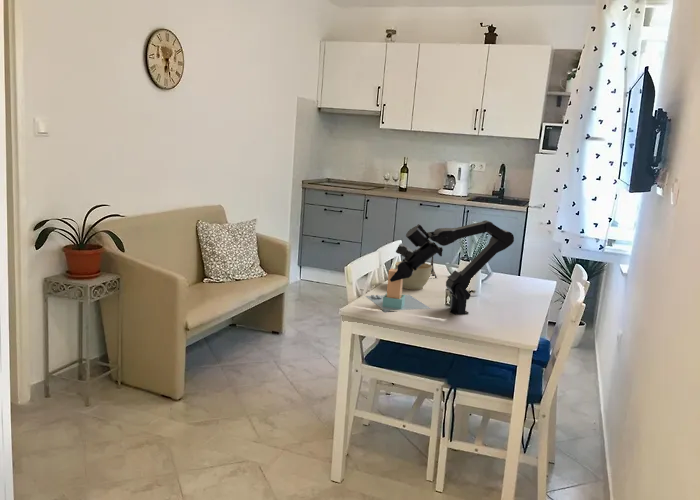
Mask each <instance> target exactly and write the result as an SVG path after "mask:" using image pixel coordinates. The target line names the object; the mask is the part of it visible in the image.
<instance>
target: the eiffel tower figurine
mask: <svg viewBox="0 0 700 500" xmlns="http://www.w3.org/2000/svg"><path fill="white" fill-rule="evenodd" d="M430 261H431V262H430V265H431V266H432V269H431V274H430V276H435V278H434V279H438V276H437V275H436V272H435V270H434V256H432V257H431V260H430Z"/></svg>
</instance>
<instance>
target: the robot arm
mask: <svg viewBox="0 0 700 500" xmlns="http://www.w3.org/2000/svg"><path fill="white" fill-rule="evenodd" d="M484 233H487V234H488V235H490V236H491V237H490V239H489V241H488V244H487V245H486V246H485V247H484V248H483V249H482V251H480V252H479V253H478V254H476V256H475V257H474V258H473V259H472V260H471V261H470V262H469V263H468V264H467V265H466V266H465V267H463V269H461V270H460V271H457V270H454V271H453V272H452V273H451V274H450V275H449V276H447V279H446V281H445V286H446V287H445V288H447V290H448V291H449V294H450V295H451V296H450V297H451V298H450V304H449V305H450V306H449V308H450V313H452V314H454V315H467V314H469V311H467V310H466V308H467V301H468V300H470V298H471V292H470V291H469V290H468V289H466V288H467V287H468V285H469V283H470V280H471V278H474V277H475V276H476V275H477V274H478V273H479V271H481V270H482V268H483V267H485V266H486V265H487V263H489V262H490V260H492V258H494V257H495V256H496V255H497V254H498V253H501V252H502V251H504V250H506V249H508V248H509V247H510V246H512V245H513V244H514V241H515V236H514V234H513V233H512V232H510V231H508V230H506V229H504V228H503V229H502V228H500V227H498V226H497V225H495V224H494V223H493V222H492V221H489V220H482V221H480V222H476V223H475V222H474V223H471V224H470V223H469V224H467V225H462V226H458V227H440V228H436V229H435V230H434V231H428V232H427V231H426V230H425V229H424V228H423V226H422V225H421V224H420V223H419V224H417V225H415V226H413V227H412V228H410V229H409V230H408V231H407V232H406V234H405V237H406V238H407V239H408V240H409V241H410V242H411V243H412V245H414V247H418V248H417V249H411V248H410V247H408V246H407V245H406V244H403V243H399V245H398V247H396V250H395V253H397V254H399V255H400V256H402V257H404V258H403V259H402V262H401V263H400V264H398V270H397V272H396V273H395V274H394V275H393V276H392V277H391V279H390V281H391V282H393V281H396V280H400V279H404V278H409V277H410V276H412V274H413V271H415V270H417V268H418V267H420V266H421V265H422V264H424V263H426V262H428V260H430V259H432V256H433V257H434V256H435V255H436V254H437V255H438V256H439V257H442V256H443V251H444V249H443V247H445V246H448V245H450V244H452V243H455V242H456V241H457V240H460V239H463V238H467V237H472V236H476V235H480V234H484ZM436 243H437V244H436ZM438 245H440V246H441V247H440V246H438ZM442 246H443V247H442ZM413 269H414V270H413ZM474 275H475V276H474Z"/></svg>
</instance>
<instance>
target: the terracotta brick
mask: <svg viewBox="0 0 700 500" xmlns="http://www.w3.org/2000/svg"><path fill="white" fill-rule="evenodd" d="M397 270H398V269H396V268H393V267H392V268H389V270H388V275H387V276H388V277H387V286H386V287H387V288H386V289H387V290H386V293H387V297H388V298H396V299H400V298H401V297H402V295H403V287H402V285H403V279H400V280H396V281H393V282H391V281H390V279H391V277H392V276H393V275H394V274H395V273H396V272H397Z"/></svg>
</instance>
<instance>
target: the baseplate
mask: <svg viewBox="0 0 700 500" xmlns="http://www.w3.org/2000/svg"><path fill="white" fill-rule="evenodd" d="M365 297H366V299H368V300H369V301H371V302H372V303H374V304H375V305H376V306H378V307H379V308H381V309H380V311H382V312H383V313H397V312H398V311H403V310H404V311H405V310H408V311H409V310H428V309H429V310H431V309H432V308H431V307H430V306H428V305H426V304H425V303H424V302H422V301H420V300H419V299H417V298H415V297H413V296H412V295H411V294H402V297H401V298H400V299H396V298H388V297H387V292H386V293H385V295H383V294H382V295H380V294H376V295H375V294H371V295H365Z"/></svg>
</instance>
